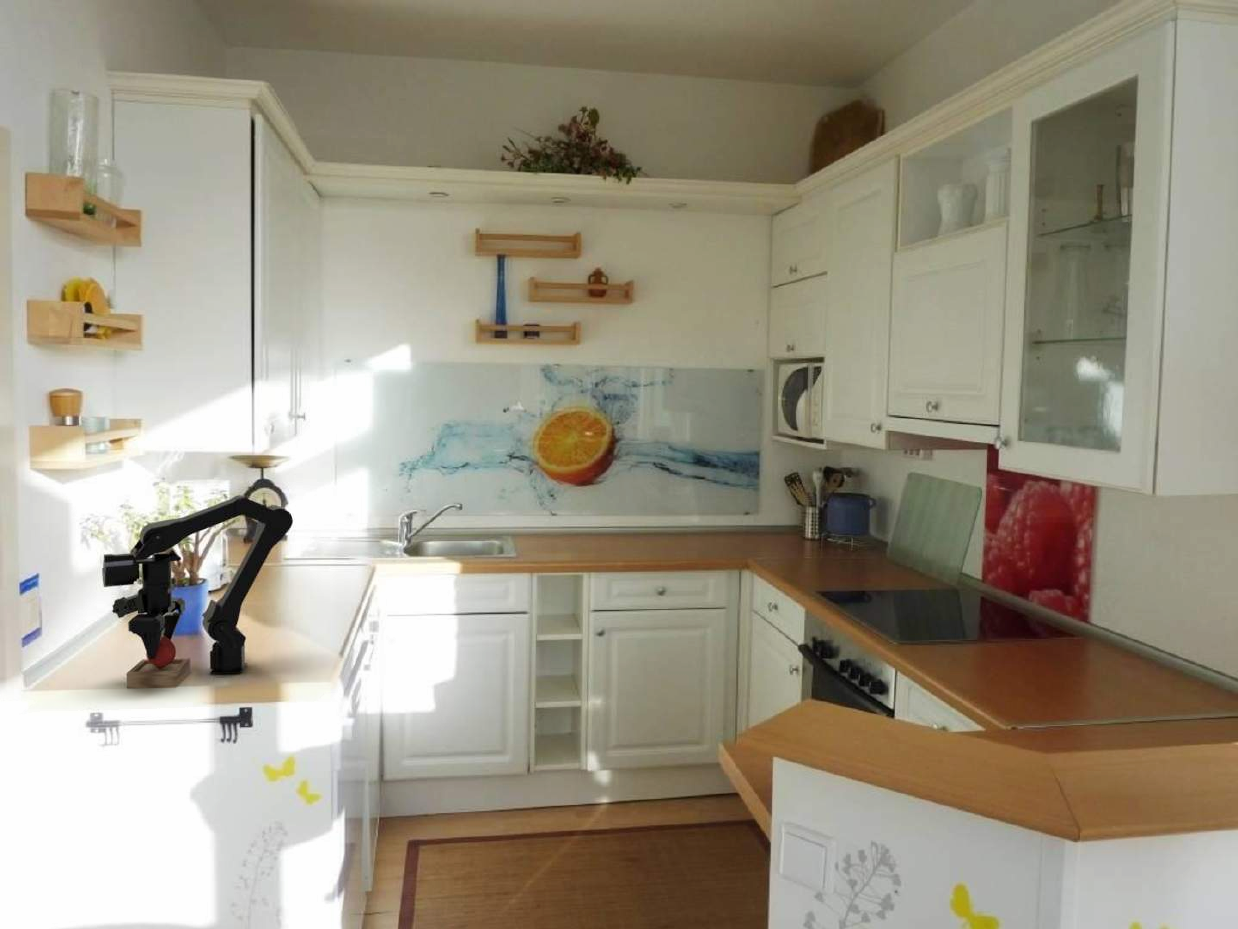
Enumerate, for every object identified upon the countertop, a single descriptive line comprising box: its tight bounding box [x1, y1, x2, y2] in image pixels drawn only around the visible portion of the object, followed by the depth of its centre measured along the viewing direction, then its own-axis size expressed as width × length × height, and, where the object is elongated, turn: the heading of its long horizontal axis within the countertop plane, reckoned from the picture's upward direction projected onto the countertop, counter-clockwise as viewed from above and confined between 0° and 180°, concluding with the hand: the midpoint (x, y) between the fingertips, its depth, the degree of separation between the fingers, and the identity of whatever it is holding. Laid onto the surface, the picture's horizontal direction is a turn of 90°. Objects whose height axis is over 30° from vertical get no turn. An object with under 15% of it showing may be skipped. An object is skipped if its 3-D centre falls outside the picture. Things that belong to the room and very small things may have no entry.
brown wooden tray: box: [126, 658, 191, 689], centre depth 213 cm, size 10×10×3 cm
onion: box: [145, 635, 177, 669], centre depth 213 cm, size 6×6×8 cm
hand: (158, 653), depth 213 cm, fingers open, 9 cm apart
